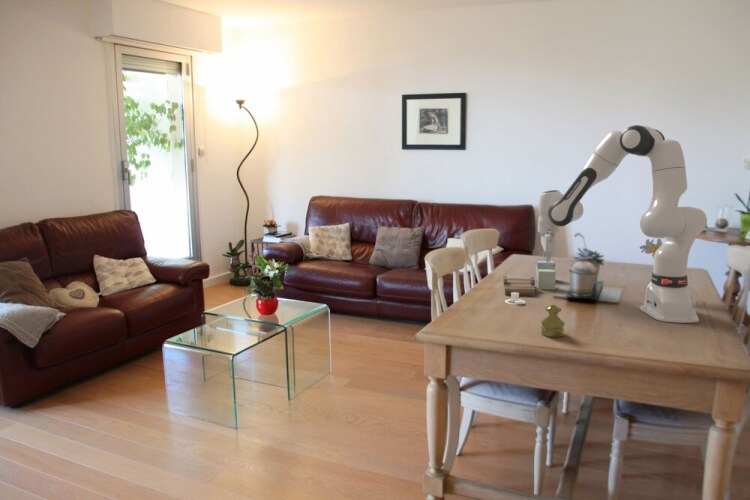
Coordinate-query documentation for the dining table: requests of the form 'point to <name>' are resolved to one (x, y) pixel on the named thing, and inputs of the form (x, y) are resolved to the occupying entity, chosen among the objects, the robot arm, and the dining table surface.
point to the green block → (546, 279)
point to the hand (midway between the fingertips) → (546, 259)
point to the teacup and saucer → (515, 299)
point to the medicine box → (544, 266)
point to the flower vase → (651, 248)
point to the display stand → (519, 286)
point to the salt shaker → (552, 323)
